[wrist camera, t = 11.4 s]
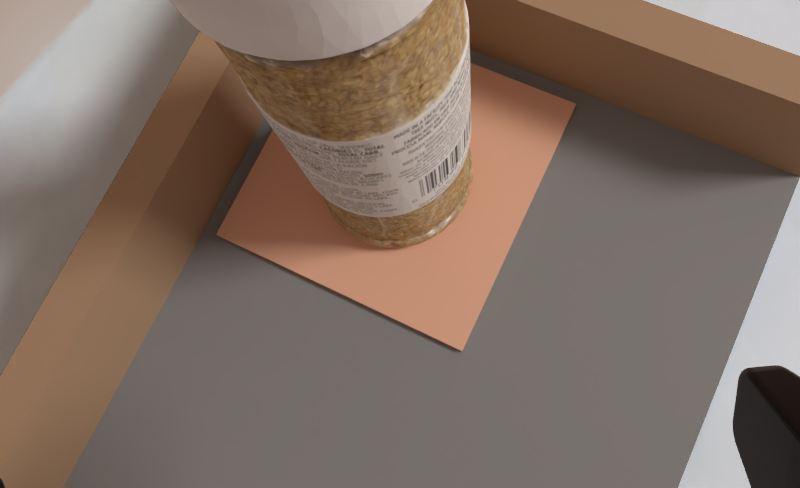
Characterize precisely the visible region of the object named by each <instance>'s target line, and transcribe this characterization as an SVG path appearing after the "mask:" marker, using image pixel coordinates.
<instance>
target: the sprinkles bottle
mask: <svg viewBox="0 0 800 488" xmlns="http://www.w3.org/2000/svg"><path fill="white" fill-rule="evenodd" d="M170 1H171V2H172V3H173V5H174V6H175V7H176V9H177V10H178V11H179V12H180V14H181V15H182V16H183V17H184V18H185V19H186V20H188V21H189V22H190V23H191V24H192V25H193V26H194V27H195V28H197V29H198V30H199V31H201V32H202V33H203V34H205V35H206V36H208V37H210V38H211V39H213V40H214V41H215V43H216V44H217V46H218V47H219V48H220V49H221V50H222V52H223V53H224V55H225V56H226V58H227V59H228V61H229V62H230V64H231V65H232V67H233V68H234V69H235V71H236V72H237V74H238V75H239V77H240V79H241V81H242V83H243V85H244V87H245V89H246V91H247V93H248V95H249V96H250V97H251V99H252V100H253V102H254V103H255V105H256V106H257V108H258V109H259V110H260V112H261V113H262V115H263V116H264V117H265V119H266V120H267V122H268V123H269V125H270V126H271V128H272V129H273V130H274V132H275V133H276V134H277V136H278V137H279V139H280V140H281V141H282V143H283V144H284V146H285V147H286V148H287V150H288V151H289V152H290V154H291V155H292V157H293V158H294V160H295V161H296V162H297V164H298V165H299V167H300V168H301V170H302V171H303V173H304V174H305V175H306V177H307V178H308V180H309V181H310V182H311V184H312V185H313V186H314V187H315V189H316V190H317V191H318V192H319V193H320V194H321V195H322V196H323V200H324V201H325V203H326V205H327V208H328V210H329V212H330V214H331V216H332V217H333V219H334V220H335V221H336V222H337V223H338V224H339V225H341V226H342V227H343V228H344V229H345V230H346V232H348V233H349V234H350V235H352V236H354V237H355V238H357V239H359V240H361V241H362V242H365V243H368V244H372V245H375V246H378V247H382V248H390V247H391V248H402V247H407V246H412V245H417V244H420V243H422V242H424V241H426V240H429V239H431V238H433V237H435V236H436V235H438V234H440V233H441V232H443V231H444V230H445V229H446V228H447V226H448V225H450V224H451V223H452V222H453V221H454V220H455V219H456V217H457V215H458V213H459V212H460V211H461V210H462V209H463V207H464V206H465V204H466V202H467V199H468V197H469V192H470V189H471V185H472V180H473V166H472V154H471V150H470V147H469V145H470V139H471V85H470V38H469V17H468V10H467V6H466V2H465V0H170Z"/></svg>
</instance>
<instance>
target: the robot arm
mask: <svg viewBox="0 0 800 488" xmlns="http://www.w3.org/2000/svg"><path fill="white" fill-rule="evenodd" d="M733 433H734V438H735V442H736V445H737V448H738V451H739V454H740V457H741V459H742V462H743V465H744V468H745V471H746V474H747V477H748V479H749V482H750V485H751V488H800V377H799V376H798V375H796V374H795V373H793V372H791V371H790V370H788V369H786V368H784V367H781V366H764V367H753V368H747V369H745V370H743V371H742V372H741V374H740V376H739V380H738V387H737V395H736V402H735V409H734V417H733ZM0 488H5V485H4V483H3V481H2V479H1V478H0Z"/></svg>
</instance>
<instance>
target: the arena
mask: <svg viewBox="0 0 800 488" xmlns="http://www.w3.org/2000/svg"><path fill="white" fill-rule="evenodd" d="M465 2H466V6H467V10H468V17H469V38H470V85H471V139H470V145H469V147H470V150H471V154H472V166H473V180H472V185H471V189H470V192H469V197H468V199H467V202H466V204H465V206H464V207H463V209H462V210H461V211H460V212H459V213H458V215H457V217H456V219H455V220H454V221H453V222H452V223H451V224H450V225H448V226H447V228H446V229H445V230H444V231H443V232H441V233H440V234H438V235H436V236H435V237H433V238H431V239H429V240H426V241H424V242H422V243H420V244H417V245H412V246H407V247H402V248H391V247H390V248H382V247H378V246H375V245H372V244H368V243H365V242H362V241H361V240H359V239H357V238H355V237H354V236H352V235H350V234H349V233H348V232H346V230H345V229H344V228H343V227H342V226H341V225H339V224H338V223H337V222H336V221H335V220H334V219H333V217H332V216H331V214H330V212H329V210H328V208H327V205H326V203H325V201H324V200H323V196H322V195H321V194H320V193H319V192H318V191H317V190H316V189H315V187H314V186H313V185H312V184H311V182H310V181H309V180H308V178H307V177H306V175H305V174H304V173H303V171H302V170H301V168H300V167H299V165H298V164H297V162H296V161H295V160H294V158H293V157H292V155H291V154H290V152H289V151H288V150H287V148H286V147H285V146H284V144H283V143H282V141H281V140H280V139H279V137H278V136H277V134H276V133H275V132H274V130H273V129H272V128H271V126H270V125H269V123H268V122H267V120H266V119H265V117H264V116H263V115H262V113H261V112H260V110H259V109H258V108H257V106H256V105H255V103H254V102H253V100H252V99H251V97H250V96H249V95H248V93H247V91H246V89H245V87H244V85H243V83H242V81H241V79H240V77H239V75H238V74H237V72H236V71H235V69H234V68H233V67H232V65H231V64H230V62H229V61H228V59H227V58H226V56H225V55H224V53H223V52H222V50H221V49H220V48H219V47H218V46H217V44H216V43H215V41H214V40H213V39H211V38H210V37H208V36H206V35H205V34H203V33H202V32H201V31H200V32H199V33H198V35H197V37H196V39H195V40H194V42H193V44H192V45H191V47H190V49H189V51H188V52H187V54H186V56H185V58H184V59H183V61H182V63H181V64H180V66H179V68H178V70H177V71H176V73H175V75H174V77H173V78H172V80H171V82H170V83H169V85H168V87H167V89H166V90H165V92H164V94H163V96H162V97H161V99H160V101H159V102H158V104H157V106H156V108H155V109H154V111H153V113H152V115H151V116H150V118H149V120H148V121H147V123H146V125H145V127H144V128H143V130H142V132H141V134H140V135H139V137H138V139H137V141H136V142H135V144H134V146H133V147H132V149H131V151H130V153H129V154H128V156H127V158H126V160H125V161H124V163H123V165H122V166H121V168H120V170H119V172H118V173H117V175H116V177H115V179H114V180H113V182H112V184H111V185H110V187H109V189H108V191H107V192H106V194H105V196H104V198H103V199H102V201H101V203H100V204H99V206H98V208H97V210H96V211H95V213H94V215H93V217H92V218H91V220H90V222H89V223H88V225H87V227H86V229H85V230H84V232H83V234H82V236H81V237H80V239H79V241H78V242H77V244H76V246H75V248H74V249H73V251H72V253H71V255H70V256H69V258H68V260H67V261H66V263H65V265H64V267H63V268H62V270H61V272H60V274H59V275H58V277H57V279H56V280H55V282H54V284H53V286H52V287H51V289H50V291H49V293H48V294H47V296H46V298H45V299H44V301H43V303H42V305H41V306H40V308H39V310H38V312H37V313H36V315H35V317H34V318H33V320H32V322H31V324H30V325H29V327H28V329H27V331H26V332H25V334H24V336H23V337H22V339H21V341H20V343H19V344H18V346H17V348H16V350H15V351H14V353H13V355H12V357H11V358H10V360H9V362H8V363H7V365H6V367H5V369H4V370H3V372H2V374H1V376H0V478H1V479H2V481H3V483H4V485H5V488H678V485H679V483H680V480H681V478H682V475H683V473H684V470H685V468H686V465H687V462H688V460H689V457H690V455H691V452H692V450H693V447H694V445H695V442H696V440H697V437H698V435H699V432H700V429H701V427H702V424H703V422H704V419H705V417H706V414H707V412H708V409H709V407H710V404H711V401H712V399H713V396H714V394H715V391H716V389H717V386H718V384H719V381H720V379H721V376H722V373H723V371H724V368H725V366H726V363H727V361H728V358H729V356H730V353H731V351H732V348H733V345H734V343H735V340H736V338H737V335H738V333H739V330H740V328H741V325H742V323H743V320H744V317H745V315H746V312H747V310H748V307H749V305H750V302H751V300H752V297H753V295H754V292H755V289H756V287H757V284H758V282H759V279H760V277H761V274H762V272H763V269H764V267H765V264H766V262H767V259H768V256H769V254H770V251H771V249H772V246H773V244H774V241H775V239H776V236H777V234H778V231H779V228H780V226H781V223H782V221H783V218H784V216H785V213H786V211H787V208H788V206H789V203H790V200H791V198H792V195H793V193H794V190H795V188H796V185H797V183H798V180H799V178H800V56H798V55H795V54H792V53H789V52H787V51H784V50H781V49H778V48H775V47H773V46H770V45H767V44H764V43H761V42H758V41H756V40H753V39H750V38H747V37H744V36H742V35H739V34H736V33H733V32H730V31H727V30H725V29H722V28H719V27H716V26H713V25H711V24H708V23H705V22H702V21H699V20H696V19H694V18H691V17H688V16H685V15H682V14H680V13H677V12H674V11H671V10H668V9H665V8H663V7H660V6H657V5H654V4H651V3H649V2H646V1H643V0H465Z"/></svg>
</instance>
